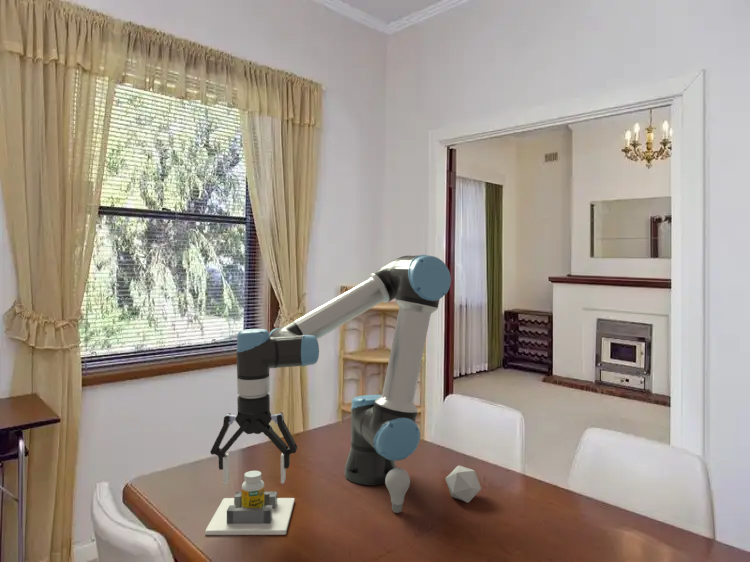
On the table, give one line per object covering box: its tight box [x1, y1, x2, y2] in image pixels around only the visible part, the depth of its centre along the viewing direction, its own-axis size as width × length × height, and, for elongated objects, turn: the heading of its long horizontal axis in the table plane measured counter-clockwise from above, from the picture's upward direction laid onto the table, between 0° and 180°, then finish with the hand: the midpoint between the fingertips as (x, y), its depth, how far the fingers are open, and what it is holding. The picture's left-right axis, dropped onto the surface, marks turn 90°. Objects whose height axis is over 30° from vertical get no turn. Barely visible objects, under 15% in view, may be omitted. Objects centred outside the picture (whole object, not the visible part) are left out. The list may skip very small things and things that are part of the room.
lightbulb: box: [385, 467, 411, 514], centre depth 127 cm, size 6×6×11 cm
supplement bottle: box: [241, 470, 265, 508], centre depth 123 cm, size 5×5×10 cm
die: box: [445, 465, 482, 503], centre depth 135 cm, size 8×9×10 cm
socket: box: [204, 491, 295, 536], centre depth 123 cm, size 18×16×4 cm
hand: (254, 481), depth 123 cm, fingers open, 13 cm apart
